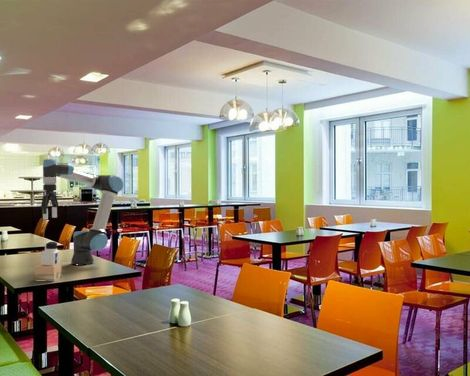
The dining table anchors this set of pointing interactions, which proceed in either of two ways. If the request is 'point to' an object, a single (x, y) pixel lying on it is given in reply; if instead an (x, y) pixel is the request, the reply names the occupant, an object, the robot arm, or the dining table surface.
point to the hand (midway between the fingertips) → (50, 218)
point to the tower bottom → (47, 276)
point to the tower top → (47, 269)
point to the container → (50, 254)
